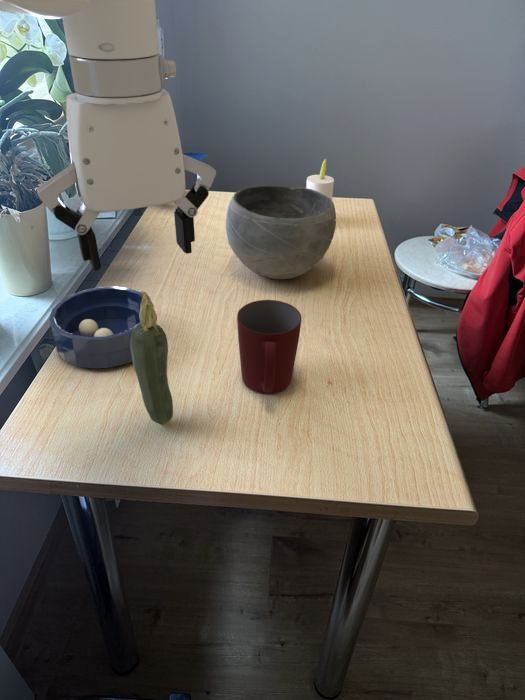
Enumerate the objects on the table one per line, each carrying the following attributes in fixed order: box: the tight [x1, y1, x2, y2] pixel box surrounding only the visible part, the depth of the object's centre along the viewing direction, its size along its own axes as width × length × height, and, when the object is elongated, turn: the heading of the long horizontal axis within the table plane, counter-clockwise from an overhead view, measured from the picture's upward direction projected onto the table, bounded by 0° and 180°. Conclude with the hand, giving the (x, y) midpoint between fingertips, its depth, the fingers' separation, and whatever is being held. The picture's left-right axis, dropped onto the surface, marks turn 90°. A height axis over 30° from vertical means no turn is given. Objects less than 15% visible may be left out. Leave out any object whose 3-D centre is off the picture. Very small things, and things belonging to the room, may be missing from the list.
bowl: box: [225, 184, 337, 280], centre depth 104 cm, size 21×21×15 cm
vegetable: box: [130, 290, 174, 426], centre depth 65 cm, size 4×4×20 cm
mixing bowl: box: [48, 286, 155, 369], centre depth 84 cm, size 16×16×6 cm
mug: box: [236, 299, 302, 395], centre depth 75 cm, size 12×9×11 cm
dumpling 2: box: [94, 328, 113, 337], centre depth 83 cm, size 3×3×3 cm
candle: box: [305, 158, 335, 201], centre depth 125 cm, size 6×6×15 cm
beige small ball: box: [79, 319, 98, 337], centre depth 85 cm, size 3×3×3 cm
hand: (140, 256), depth 56 cm, fingers open, 9 cm apart
